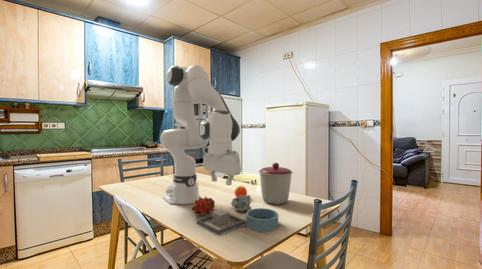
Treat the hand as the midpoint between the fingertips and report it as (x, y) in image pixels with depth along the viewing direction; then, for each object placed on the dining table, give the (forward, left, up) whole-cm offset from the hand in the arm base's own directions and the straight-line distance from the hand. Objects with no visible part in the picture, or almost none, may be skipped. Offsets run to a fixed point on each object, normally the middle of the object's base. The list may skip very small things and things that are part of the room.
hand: (221, 183), depth 100 cm
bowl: (+12, +12, -17) cm, 24 cm away
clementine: (-20, +30, -17) cm, 40 cm away
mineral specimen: (-8, +18, -18) cm, 26 cm away
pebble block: (0, 0, -17) cm, 17 cm away
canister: (-3, +40, -17) cm, 44 cm away
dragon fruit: (-14, +1, -17) cm, 23 cm away
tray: (0, 0, -17) cm, 17 cm away
